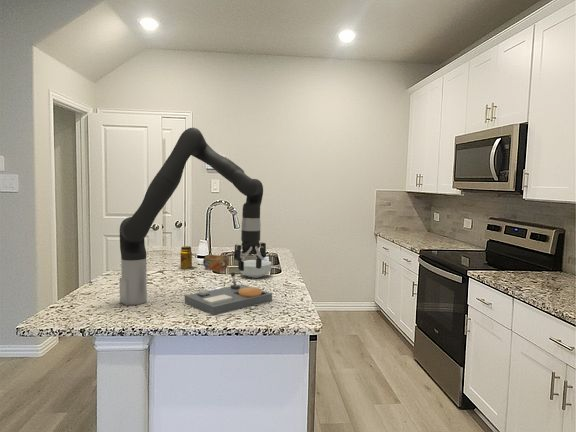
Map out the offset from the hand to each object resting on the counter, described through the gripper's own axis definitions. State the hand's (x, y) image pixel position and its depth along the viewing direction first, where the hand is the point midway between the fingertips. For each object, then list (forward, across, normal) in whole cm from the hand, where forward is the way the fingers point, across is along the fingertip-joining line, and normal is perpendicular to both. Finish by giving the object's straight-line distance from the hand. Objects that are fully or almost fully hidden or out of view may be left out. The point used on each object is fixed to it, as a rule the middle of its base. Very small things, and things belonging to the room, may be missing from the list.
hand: (250, 269), depth 166 cm
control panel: (+13, -7, +4) cm, 15 cm away
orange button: (+11, +1, 0) cm, 11 cm away
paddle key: (+11, -15, 0) cm, 19 cm away
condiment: (+13, +13, +72) cm, 75 cm away
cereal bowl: (+13, +30, +34) cm, 47 cm away
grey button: (+10, -15, +10) cm, 21 cm away
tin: (+13, +22, +59) cm, 64 cm away
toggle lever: (+9, 0, +10) cm, 13 cm away
